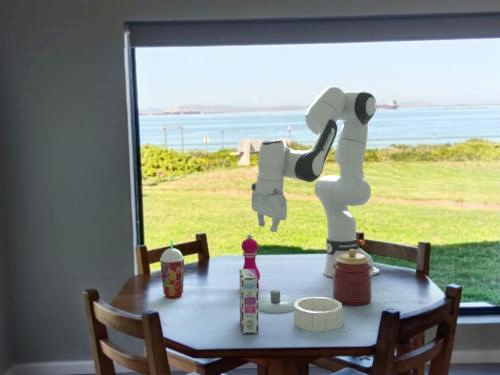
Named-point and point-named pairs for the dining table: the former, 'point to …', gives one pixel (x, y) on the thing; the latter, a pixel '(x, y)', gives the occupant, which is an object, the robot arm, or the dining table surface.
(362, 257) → the canister
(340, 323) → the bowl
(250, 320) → the candy bar box
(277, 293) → the lid
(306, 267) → the dining table surface
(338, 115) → the robot arm
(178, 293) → the smoothie
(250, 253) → the pepper mill
